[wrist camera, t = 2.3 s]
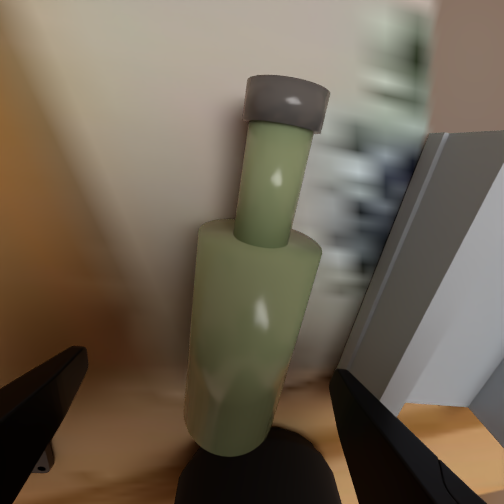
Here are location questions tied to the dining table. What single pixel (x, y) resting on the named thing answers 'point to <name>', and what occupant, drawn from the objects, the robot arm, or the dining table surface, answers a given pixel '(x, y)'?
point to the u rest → (440, 287)
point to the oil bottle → (254, 274)
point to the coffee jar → (260, 475)
